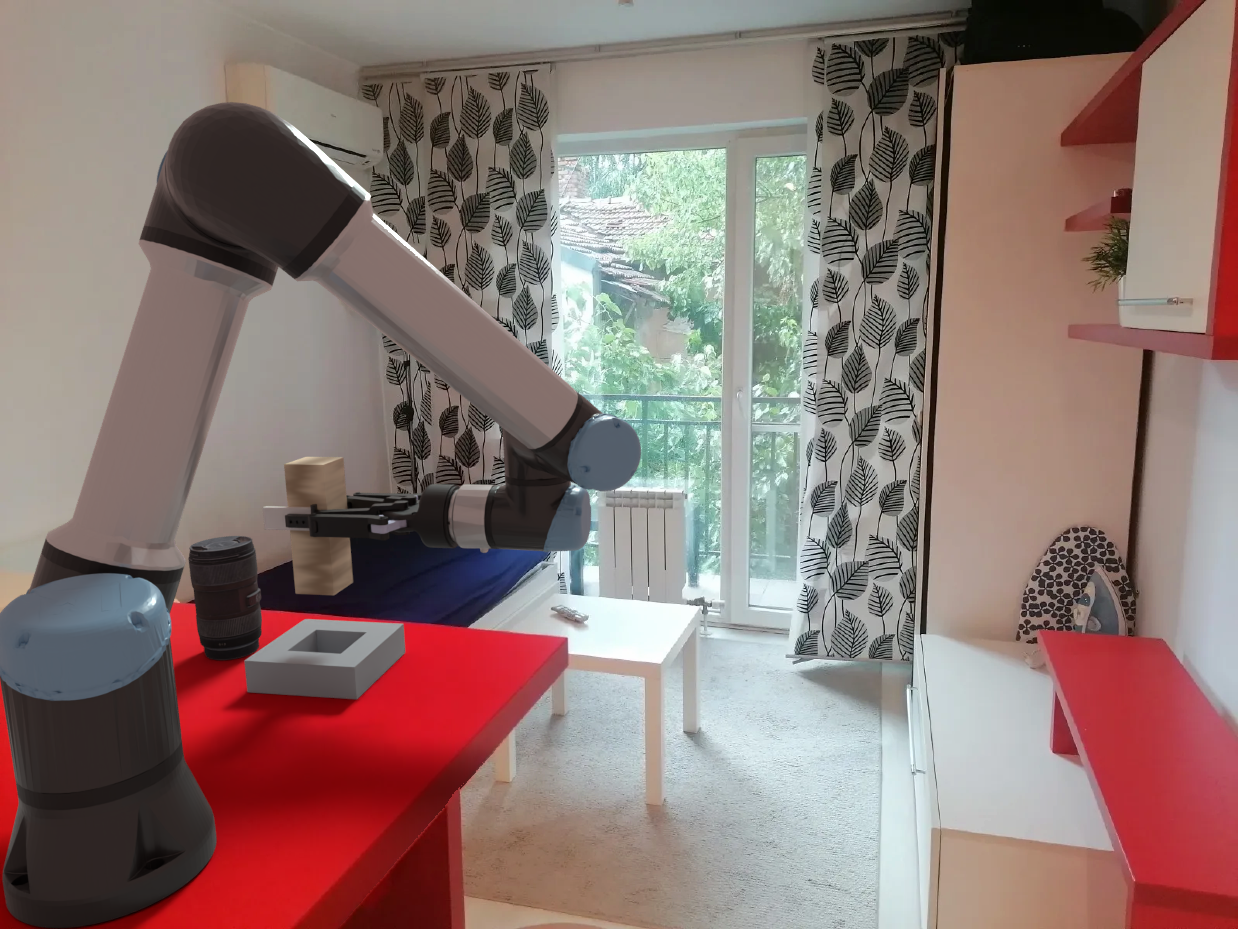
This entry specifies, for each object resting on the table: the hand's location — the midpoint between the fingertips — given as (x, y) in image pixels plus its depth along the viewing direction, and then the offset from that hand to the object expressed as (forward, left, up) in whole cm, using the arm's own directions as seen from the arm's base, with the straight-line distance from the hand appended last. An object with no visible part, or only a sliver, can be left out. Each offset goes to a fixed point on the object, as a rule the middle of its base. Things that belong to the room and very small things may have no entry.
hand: (278, 512), depth 108 cm
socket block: (-2, -5, -20) cm, 21 cm away
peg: (-2, -5, -9) cm, 11 cm away
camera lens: (+8, +9, -21) cm, 24 cm away
